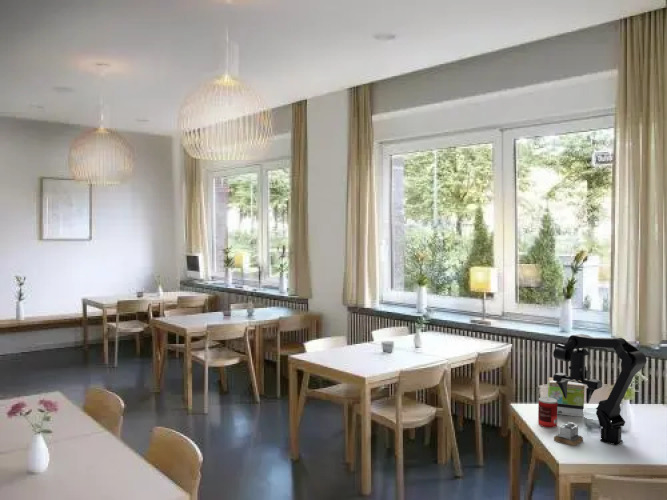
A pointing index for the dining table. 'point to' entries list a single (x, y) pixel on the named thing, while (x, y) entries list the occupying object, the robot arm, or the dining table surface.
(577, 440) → the stand
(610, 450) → the dining table surface
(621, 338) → the robot arm
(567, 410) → the tea box
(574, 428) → the housing
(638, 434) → the dining table surface
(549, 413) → the canned food
